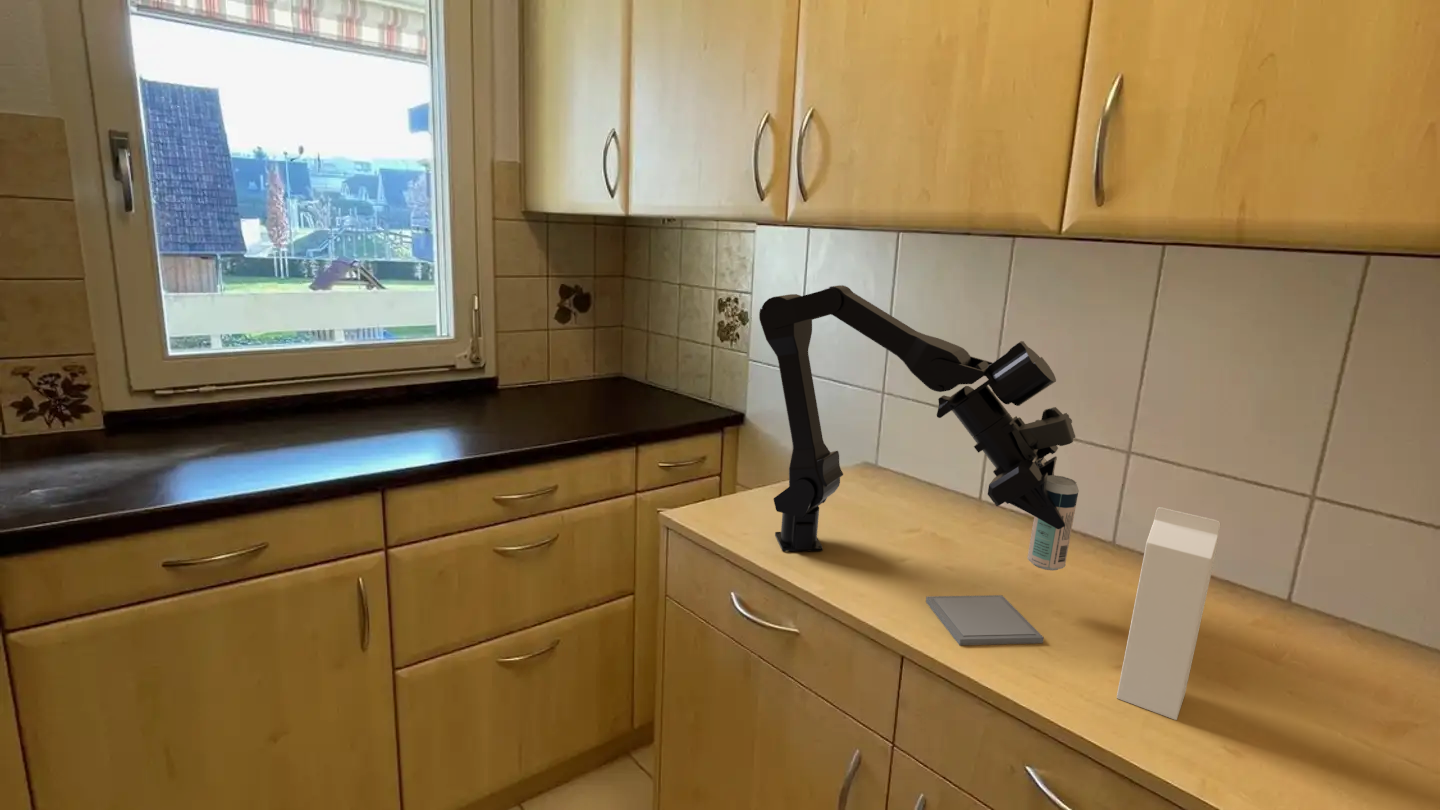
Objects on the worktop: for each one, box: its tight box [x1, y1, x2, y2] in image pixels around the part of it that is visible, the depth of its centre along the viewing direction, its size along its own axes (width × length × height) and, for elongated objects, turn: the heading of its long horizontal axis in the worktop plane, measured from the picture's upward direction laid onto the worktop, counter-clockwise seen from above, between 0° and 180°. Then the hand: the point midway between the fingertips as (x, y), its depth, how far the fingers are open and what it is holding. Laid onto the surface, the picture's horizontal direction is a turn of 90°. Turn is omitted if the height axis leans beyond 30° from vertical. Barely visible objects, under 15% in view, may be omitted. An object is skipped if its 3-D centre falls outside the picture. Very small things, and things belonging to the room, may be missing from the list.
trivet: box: [925, 594, 1044, 646], centre depth 102 cm, size 11×11×1 cm
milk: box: [1116, 506, 1221, 721], centre depth 84 cm, size 6×6×22 cm
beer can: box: [1027, 474, 1080, 571], centre depth 103 cm, size 5×5×12 cm
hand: (1064, 521), depth 102 cm, fingers closed on beer can, 5 cm apart
